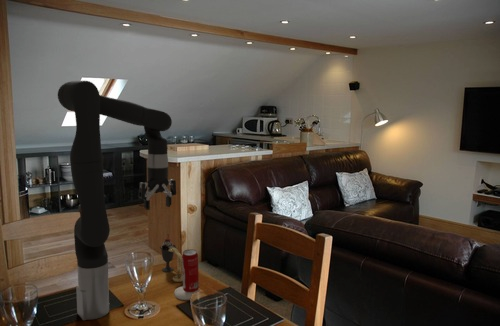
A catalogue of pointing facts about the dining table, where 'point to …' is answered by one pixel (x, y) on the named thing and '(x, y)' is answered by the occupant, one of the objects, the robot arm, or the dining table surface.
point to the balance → (179, 257)
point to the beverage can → (190, 271)
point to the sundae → (167, 254)
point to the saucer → (183, 294)
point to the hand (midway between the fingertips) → (158, 208)
